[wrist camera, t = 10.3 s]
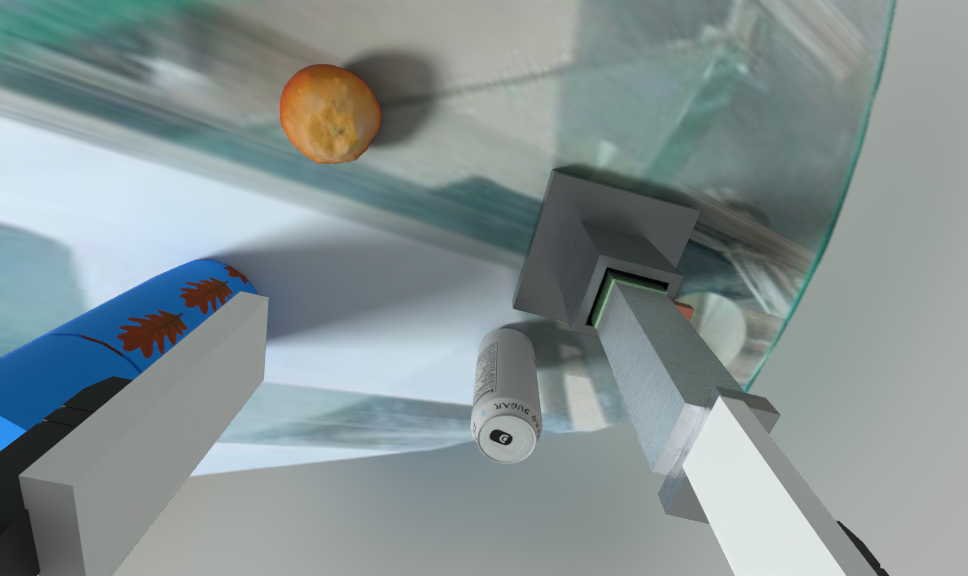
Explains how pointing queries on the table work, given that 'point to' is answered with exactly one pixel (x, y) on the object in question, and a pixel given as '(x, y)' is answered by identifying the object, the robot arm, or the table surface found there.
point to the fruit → (329, 114)
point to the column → (664, 379)
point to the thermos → (110, 341)
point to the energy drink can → (506, 397)
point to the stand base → (599, 246)
